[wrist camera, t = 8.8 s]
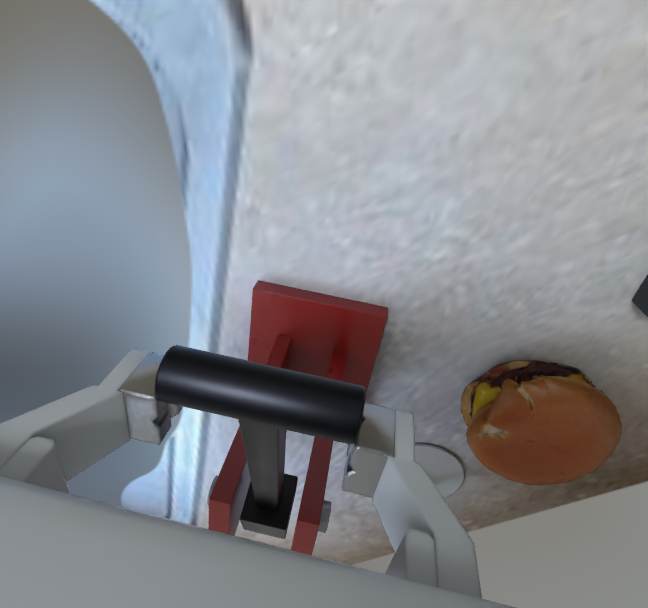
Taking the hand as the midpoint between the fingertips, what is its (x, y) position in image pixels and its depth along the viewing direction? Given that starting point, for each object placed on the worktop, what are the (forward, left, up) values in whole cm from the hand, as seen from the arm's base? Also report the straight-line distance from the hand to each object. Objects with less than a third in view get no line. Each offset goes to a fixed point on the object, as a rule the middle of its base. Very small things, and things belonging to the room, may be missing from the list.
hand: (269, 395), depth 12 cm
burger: (+11, +16, -16) cm, 25 cm away
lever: (+5, 0, -3) cm, 6 cm away
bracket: (+11, 0, -16) cm, 19 cm away
